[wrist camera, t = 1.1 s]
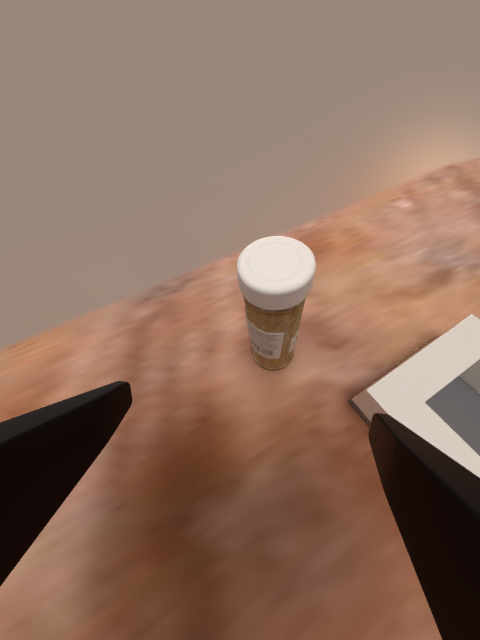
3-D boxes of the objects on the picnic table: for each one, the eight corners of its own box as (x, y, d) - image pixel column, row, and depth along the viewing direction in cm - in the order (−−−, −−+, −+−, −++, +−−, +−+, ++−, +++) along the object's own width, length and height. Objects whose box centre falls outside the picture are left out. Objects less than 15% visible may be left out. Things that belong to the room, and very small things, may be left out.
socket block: (583, 454, 17) (676, 455, 13) (480, 559, 15) (554, 598, 11) (437, 336, 23) (471, 313, 19) (347, 400, 21) (366, 389, 17)
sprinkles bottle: (302, 354, 23) (336, 261, 12) (268, 380, 22) (269, 306, 11) (274, 324, 26) (279, 222, 14) (242, 347, 25) (220, 257, 13)
